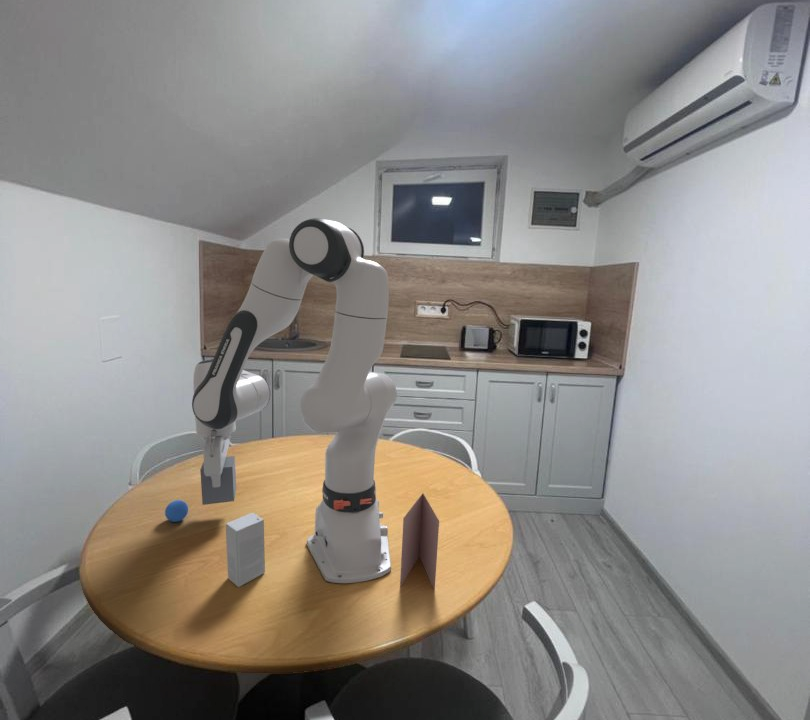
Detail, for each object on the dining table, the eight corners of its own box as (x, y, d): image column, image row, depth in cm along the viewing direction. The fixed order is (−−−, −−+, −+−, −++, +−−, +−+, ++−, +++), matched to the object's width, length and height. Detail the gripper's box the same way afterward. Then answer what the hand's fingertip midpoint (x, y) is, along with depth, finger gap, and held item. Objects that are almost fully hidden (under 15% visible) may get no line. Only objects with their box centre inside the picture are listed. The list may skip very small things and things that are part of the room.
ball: (186, 524, 104) (185, 505, 103) (163, 527, 102) (162, 507, 101) (190, 514, 108) (189, 495, 108) (168, 516, 107) (167, 497, 106)
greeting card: (415, 554, 96) (419, 492, 94) (447, 563, 94) (452, 499, 91) (395, 586, 86) (399, 517, 83) (431, 597, 83) (436, 526, 81)
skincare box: (253, 564, 91) (253, 511, 88) (265, 573, 88) (265, 519, 86) (226, 578, 86) (224, 523, 84) (237, 588, 83) (236, 531, 81)
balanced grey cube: (234, 501, 105) (232, 466, 103) (202, 504, 102) (200, 469, 101) (236, 488, 111) (234, 456, 110) (206, 491, 109) (204, 458, 108)
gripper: (225, 437, 95) (228, 496, 97) (233, 412, 114) (235, 462, 117) (194, 439, 93) (198, 499, 95) (207, 414, 113) (210, 464, 115)
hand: (218, 478), depth 106 cm, fingers closed on balanced grey cube, 7 cm apart
